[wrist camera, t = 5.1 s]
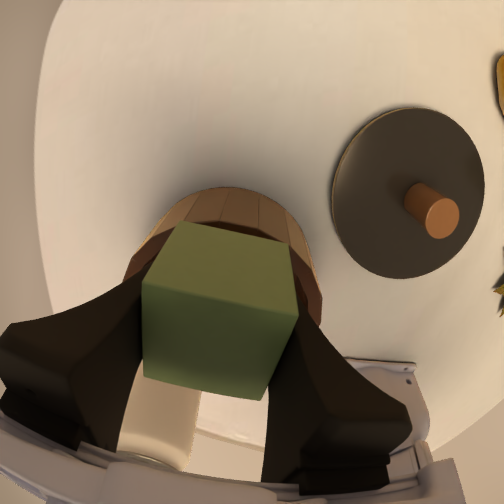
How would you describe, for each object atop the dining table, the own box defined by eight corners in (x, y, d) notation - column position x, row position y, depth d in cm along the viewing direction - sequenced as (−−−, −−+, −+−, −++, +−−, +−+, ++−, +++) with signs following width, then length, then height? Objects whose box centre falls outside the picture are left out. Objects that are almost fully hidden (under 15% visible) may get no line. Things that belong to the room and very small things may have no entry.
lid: (494, 148, 16) (530, 162, 13) (438, 283, 22) (461, 314, 18) (359, 78, 16) (385, 74, 12) (306, 253, 21) (315, 288, 18)
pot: (330, 209, 20) (353, 250, 15) (283, 334, 25) (286, 389, 20) (159, 172, 19) (123, 200, 14) (149, 307, 24) (127, 357, 19)
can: (152, 375, 29) (122, 473, 18) (133, 331, 26) (87, 441, 15) (211, 378, 28) (195, 486, 18) (200, 333, 25) (174, 459, 15)
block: (288, 243, 12) (299, 315, 8) (261, 324, 14) (260, 401, 10) (179, 219, 12) (141, 281, 8) (170, 305, 14) (142, 377, 10)
